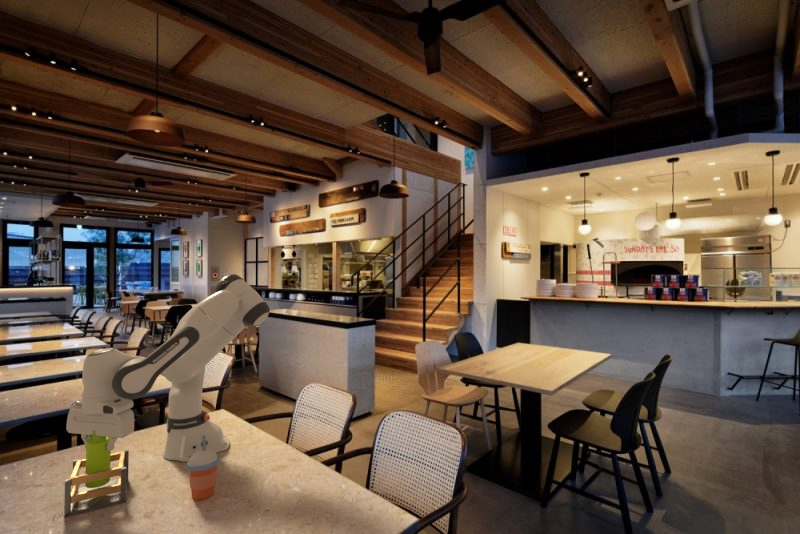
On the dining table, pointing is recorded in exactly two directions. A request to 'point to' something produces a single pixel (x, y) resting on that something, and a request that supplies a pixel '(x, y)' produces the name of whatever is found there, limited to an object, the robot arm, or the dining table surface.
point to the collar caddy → (98, 496)
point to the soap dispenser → (97, 458)
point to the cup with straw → (203, 472)
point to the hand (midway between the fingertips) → (99, 448)
